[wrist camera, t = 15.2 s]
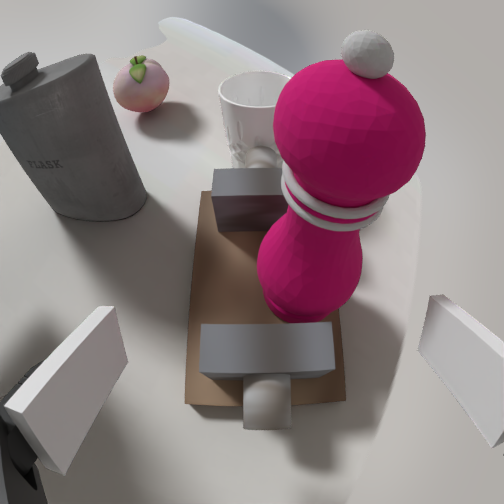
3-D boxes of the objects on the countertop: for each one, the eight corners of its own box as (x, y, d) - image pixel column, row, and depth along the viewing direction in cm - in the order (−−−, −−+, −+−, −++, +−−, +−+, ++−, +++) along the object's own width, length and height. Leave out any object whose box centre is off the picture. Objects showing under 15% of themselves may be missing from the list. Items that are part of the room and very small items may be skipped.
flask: (42, 214, 31) (-38, 96, 14) (63, 180, 34) (-1, 62, 16) (133, 229, 29) (49, 55, 12) (153, 187, 32) (98, 22, 15)
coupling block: (188, 421, 20) (164, 425, 15) (205, 189, 32) (195, 144, 26) (341, 418, 20) (369, 420, 14) (316, 188, 31) (325, 143, 26)
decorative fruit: (119, 108, 42) (103, 59, 33) (165, 91, 43) (154, 41, 35) (127, 136, 38) (107, 78, 29) (180, 115, 39) (168, 56, 31)
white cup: (307, 166, 33) (318, 93, 24) (250, 195, 31) (248, 117, 22) (267, 132, 36) (268, 64, 28) (213, 155, 34) (203, 84, 26)
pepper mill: (282, 237, 27) (307, -3, 9) (355, 273, 25) (467, 53, 7) (240, 304, 24) (205, 34, 6) (321, 347, 22) (491, 131, 4)
